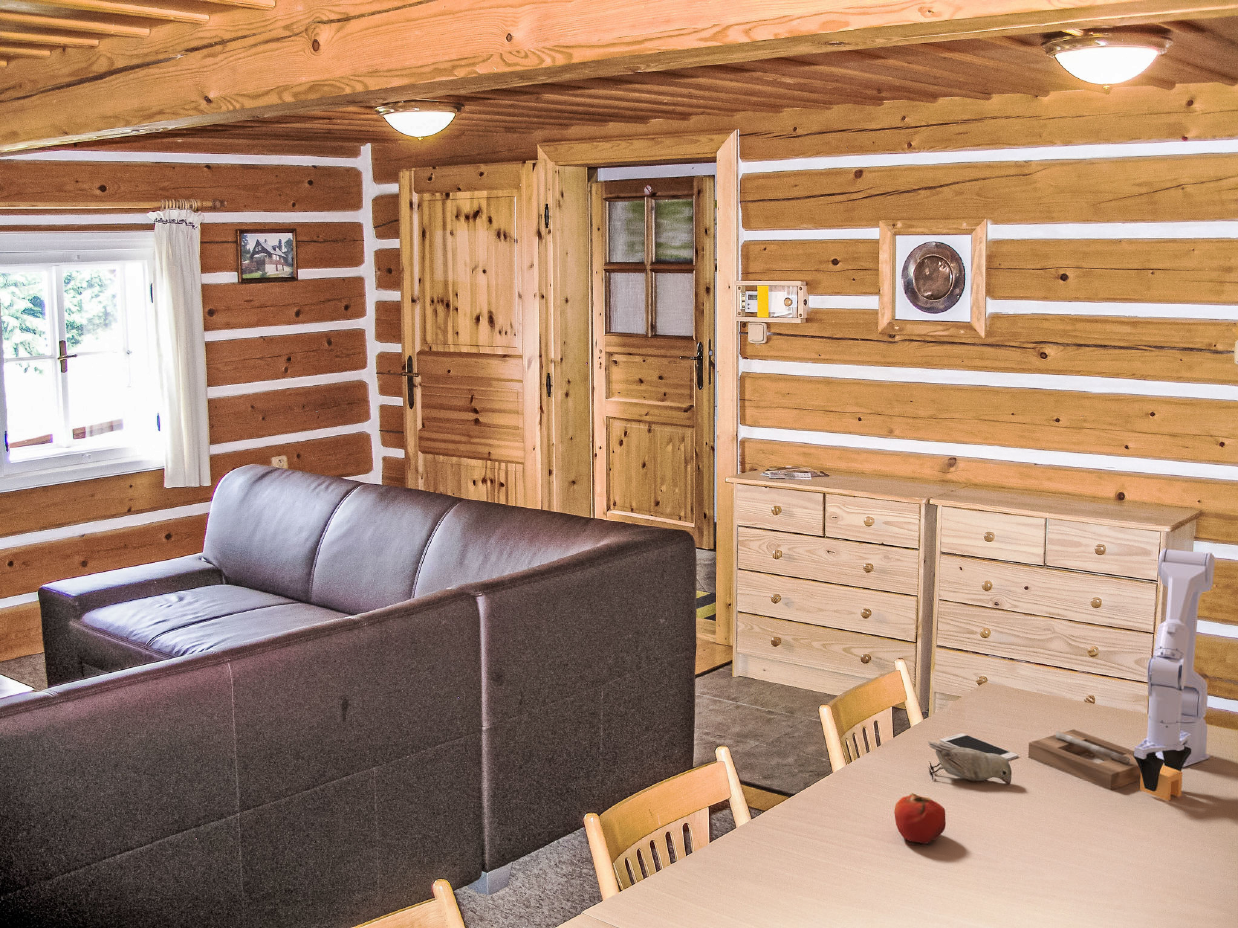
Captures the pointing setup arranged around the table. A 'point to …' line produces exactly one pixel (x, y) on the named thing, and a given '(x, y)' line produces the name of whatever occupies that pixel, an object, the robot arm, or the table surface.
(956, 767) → the decorative bird
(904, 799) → the tomato
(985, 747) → the smartphone
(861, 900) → the table surface
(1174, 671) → the robot arm
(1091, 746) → the wooden slotted rail base
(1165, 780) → the orange notched block
